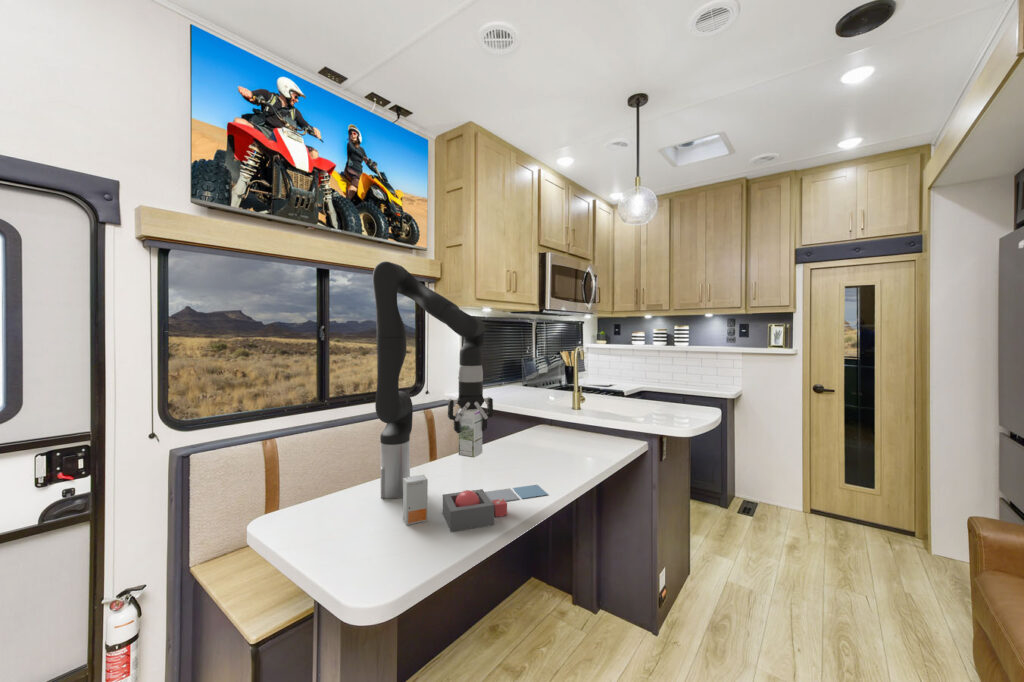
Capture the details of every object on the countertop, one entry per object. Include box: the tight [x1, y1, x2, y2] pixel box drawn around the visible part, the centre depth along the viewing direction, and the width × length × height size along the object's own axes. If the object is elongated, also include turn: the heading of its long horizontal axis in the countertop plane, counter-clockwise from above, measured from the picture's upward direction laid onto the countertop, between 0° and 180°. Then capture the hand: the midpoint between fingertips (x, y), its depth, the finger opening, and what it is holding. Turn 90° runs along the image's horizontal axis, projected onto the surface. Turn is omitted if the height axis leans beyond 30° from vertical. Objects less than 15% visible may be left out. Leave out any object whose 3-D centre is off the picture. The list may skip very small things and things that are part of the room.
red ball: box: [455, 490, 480, 507], centre depth 114 cm, size 7×7×7 cm
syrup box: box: [458, 409, 483, 459], centre depth 127 cm, size 6×6×14 cm
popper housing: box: [442, 488, 508, 533], centre depth 115 cm, size 17×12×6 cm
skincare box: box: [402, 474, 429, 526], centre depth 114 cm, size 6×4×12 cm
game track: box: [484, 484, 549, 502], centre depth 130 cm, size 30×9×1 cm, turn 110°
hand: (470, 431), depth 127 cm, fingers closed on syrup box, 8 cm apart
